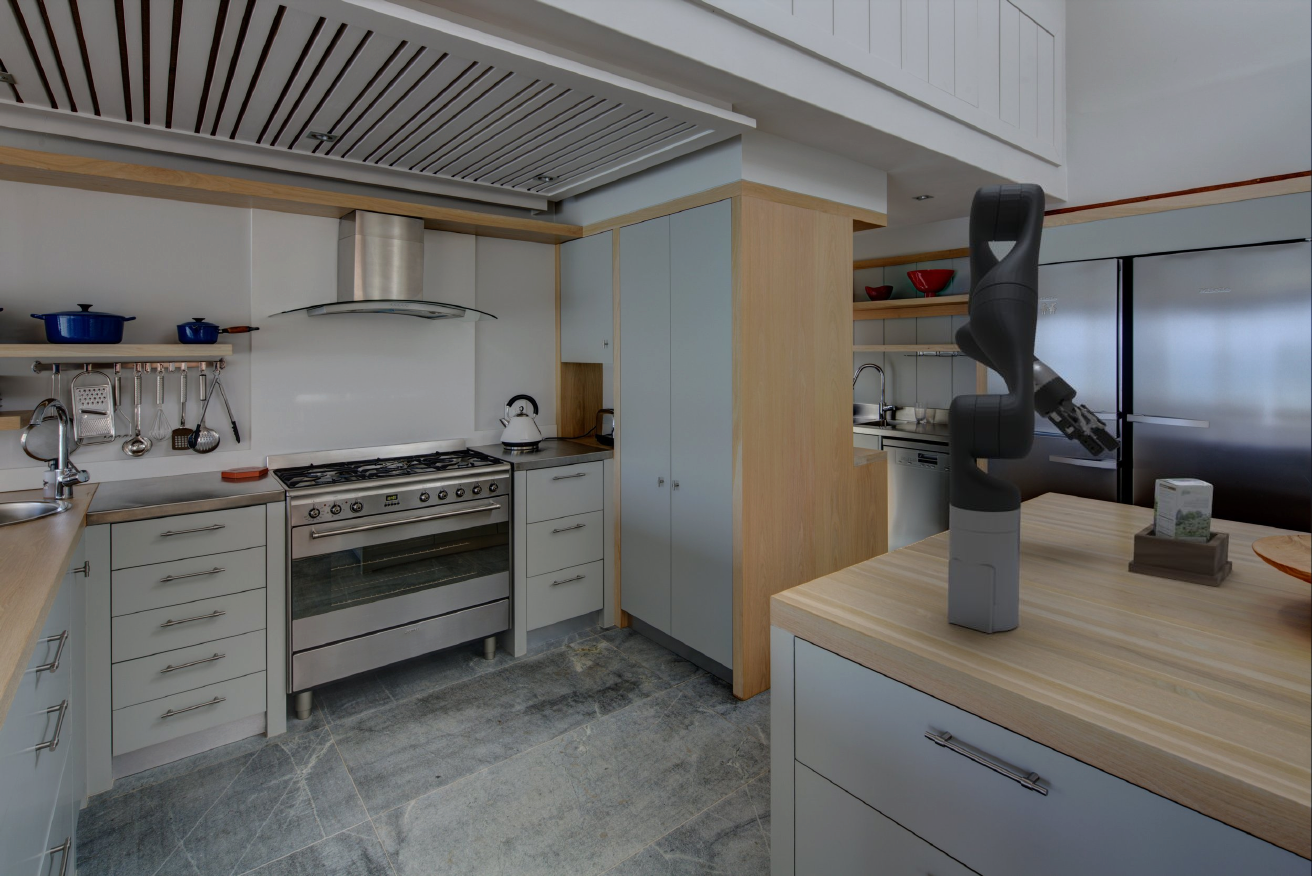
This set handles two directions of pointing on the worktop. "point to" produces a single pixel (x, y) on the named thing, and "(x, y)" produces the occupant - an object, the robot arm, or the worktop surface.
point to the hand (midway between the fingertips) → (1108, 450)
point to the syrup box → (1183, 509)
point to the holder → (1182, 557)
